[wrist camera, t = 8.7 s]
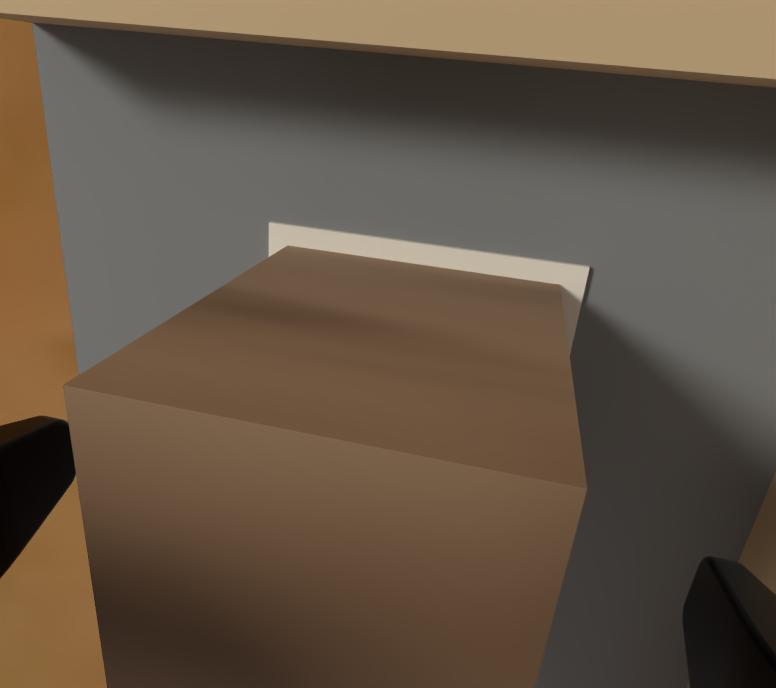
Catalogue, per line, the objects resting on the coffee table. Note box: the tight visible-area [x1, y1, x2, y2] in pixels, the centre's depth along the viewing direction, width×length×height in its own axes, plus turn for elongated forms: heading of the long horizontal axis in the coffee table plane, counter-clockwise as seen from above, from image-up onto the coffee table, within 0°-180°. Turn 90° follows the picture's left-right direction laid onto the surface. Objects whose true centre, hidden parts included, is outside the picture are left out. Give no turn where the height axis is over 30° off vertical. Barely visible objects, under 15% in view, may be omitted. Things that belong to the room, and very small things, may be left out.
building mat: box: [0, 0, 776, 688], centre depth 11 cm, size 15×16×3 cm
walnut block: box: [63, 245, 587, 688], centre depth 9 cm, size 5×5×6 cm
